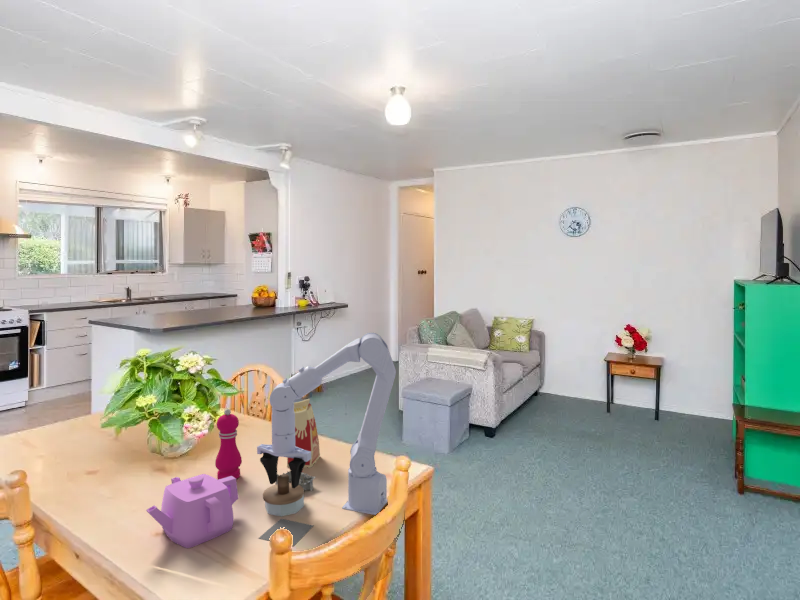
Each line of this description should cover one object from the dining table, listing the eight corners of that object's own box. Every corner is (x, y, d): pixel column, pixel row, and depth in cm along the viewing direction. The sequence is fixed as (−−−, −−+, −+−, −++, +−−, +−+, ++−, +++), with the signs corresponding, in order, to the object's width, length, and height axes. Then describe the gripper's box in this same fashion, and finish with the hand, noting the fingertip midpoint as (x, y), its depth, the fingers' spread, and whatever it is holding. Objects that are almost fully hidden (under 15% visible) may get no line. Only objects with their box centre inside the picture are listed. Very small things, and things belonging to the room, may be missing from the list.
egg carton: (271, 487, 137) (271, 473, 137) (292, 478, 143) (292, 464, 142) (296, 499, 130) (295, 484, 130) (317, 489, 136) (317, 474, 136)
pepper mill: (233, 483, 139) (232, 413, 137) (210, 481, 140) (208, 412, 139) (246, 472, 146) (245, 406, 144) (224, 470, 147) (222, 404, 146)
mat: (313, 527, 116) (313, 525, 116) (293, 547, 108) (293, 546, 108) (280, 520, 119) (280, 518, 119) (258, 539, 111) (258, 538, 111)
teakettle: (224, 549, 107) (223, 494, 106) (143, 552, 106) (141, 496, 105) (243, 510, 124) (242, 462, 123) (173, 512, 123) (172, 464, 122)
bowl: (309, 502, 128) (309, 489, 128) (290, 519, 119) (290, 505, 119) (279, 496, 131) (279, 484, 131) (258, 513, 122) (258, 499, 122)
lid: (311, 494, 125) (311, 476, 124) (277, 509, 117) (277, 489, 117) (288, 482, 132) (288, 465, 131) (255, 495, 124) (254, 477, 124)
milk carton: (320, 456, 158) (319, 395, 157) (312, 468, 149) (311, 403, 148) (292, 455, 159) (291, 394, 158) (282, 466, 150) (282, 402, 149)
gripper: (317, 430, 125) (317, 482, 126) (268, 423, 130) (268, 473, 131) (302, 439, 118) (303, 494, 119) (251, 432, 123) (252, 485, 124)
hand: (284, 484), depth 125 cm, fingers open, 6 cm apart
